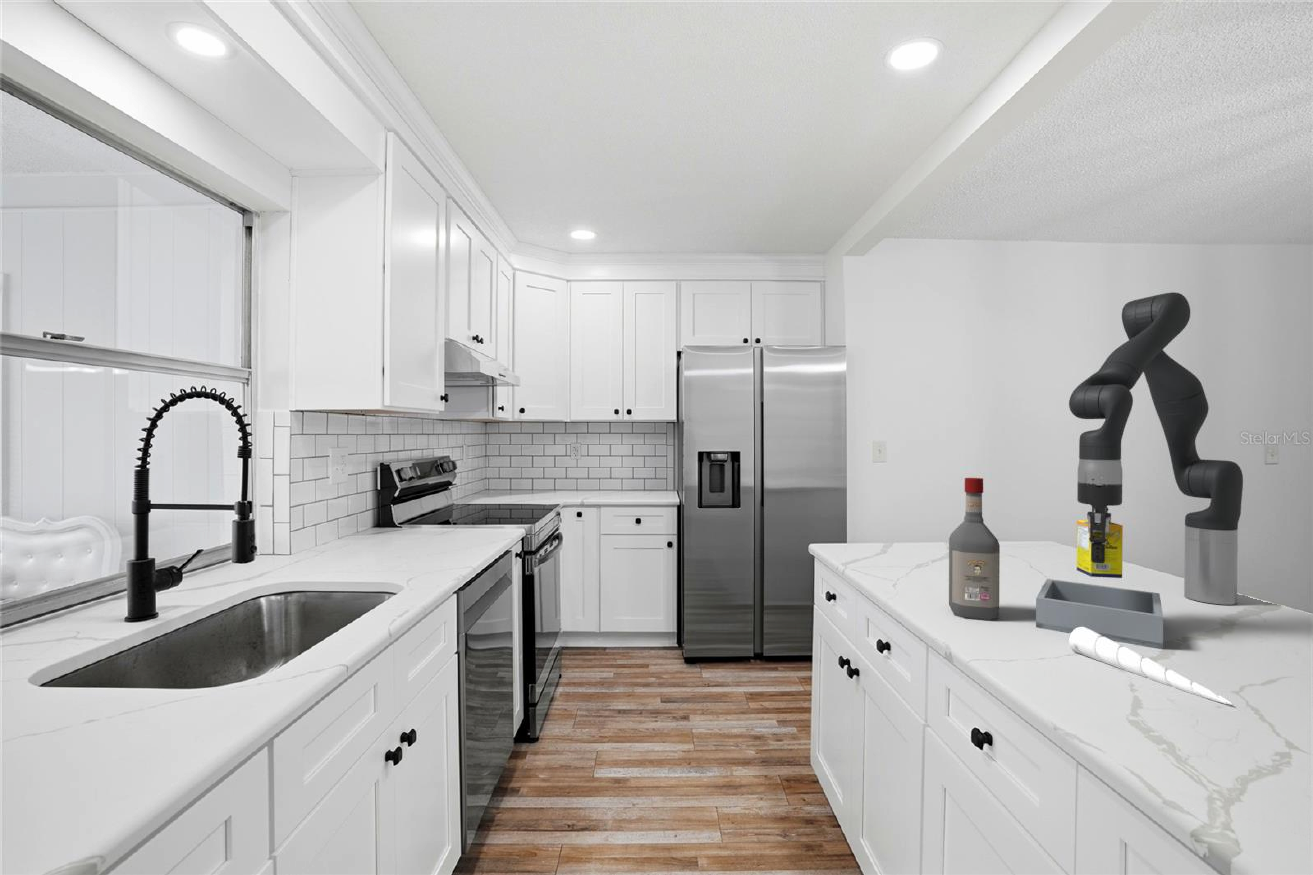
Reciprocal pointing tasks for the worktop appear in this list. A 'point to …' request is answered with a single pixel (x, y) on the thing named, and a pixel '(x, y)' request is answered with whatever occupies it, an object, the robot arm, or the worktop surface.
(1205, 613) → the worktop surface
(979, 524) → the liquor
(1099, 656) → the unicorn horn
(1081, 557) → the supplement box
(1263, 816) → the worktop surface
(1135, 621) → the bin
